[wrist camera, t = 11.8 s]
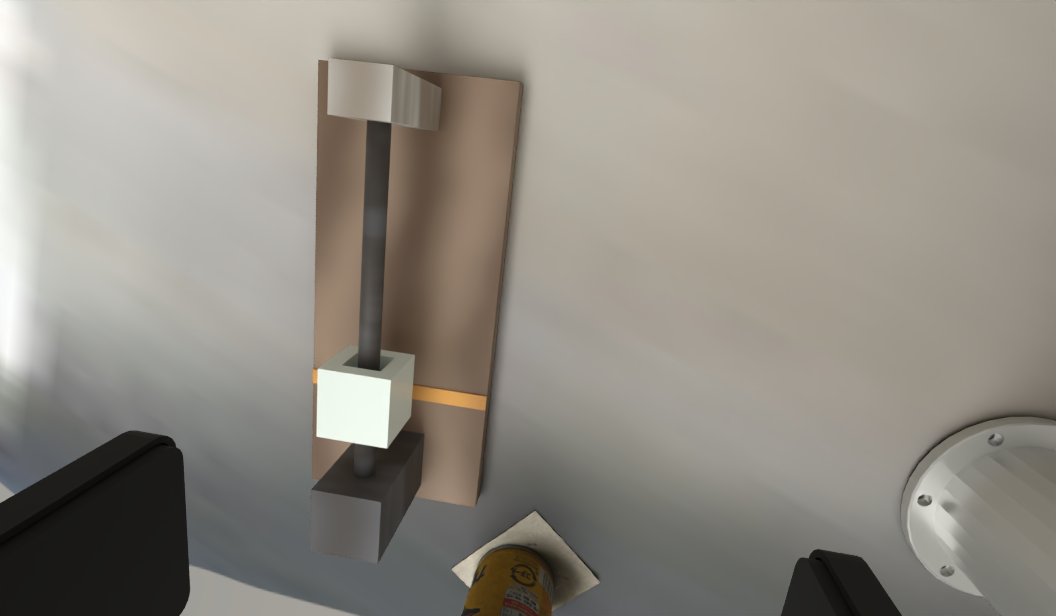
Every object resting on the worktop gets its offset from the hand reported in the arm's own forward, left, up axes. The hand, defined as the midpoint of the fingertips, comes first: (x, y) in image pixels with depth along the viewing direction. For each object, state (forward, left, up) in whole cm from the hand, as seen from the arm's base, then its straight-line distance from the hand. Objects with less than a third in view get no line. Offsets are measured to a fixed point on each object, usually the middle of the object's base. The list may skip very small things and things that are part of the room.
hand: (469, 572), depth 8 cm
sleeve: (+10, +8, -23) cm, 27 cm away
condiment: (0, +24, -29) cm, 37 cm away
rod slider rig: (+10, +4, -28) cm, 30 cm away
